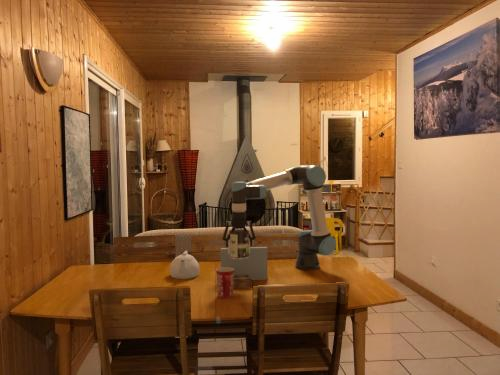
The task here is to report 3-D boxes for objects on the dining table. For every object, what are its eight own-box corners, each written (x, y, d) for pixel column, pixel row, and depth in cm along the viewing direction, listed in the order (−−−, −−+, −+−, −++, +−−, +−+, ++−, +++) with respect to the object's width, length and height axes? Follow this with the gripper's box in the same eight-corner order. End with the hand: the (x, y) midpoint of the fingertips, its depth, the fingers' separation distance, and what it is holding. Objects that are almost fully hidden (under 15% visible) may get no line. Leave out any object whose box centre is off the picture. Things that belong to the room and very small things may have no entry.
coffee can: (250, 255, 233) (250, 229, 232) (246, 259, 223) (246, 232, 222) (231, 254, 235) (231, 228, 234) (227, 259, 225) (227, 232, 224)
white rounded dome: (207, 275, 252) (207, 252, 251) (182, 282, 238) (181, 257, 237) (187, 269, 264) (186, 247, 263) (162, 275, 251) (161, 252, 250)
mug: (214, 293, 217) (214, 267, 216) (232, 292, 219) (232, 266, 218) (218, 302, 205) (217, 274, 204) (236, 300, 206) (236, 273, 206)
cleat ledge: (248, 280, 242) (248, 271, 241) (251, 287, 228) (251, 278, 227) (223, 281, 240) (222, 272, 239) (225, 288, 226) (225, 279, 225)
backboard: (266, 278, 245) (266, 246, 244) (267, 279, 243) (267, 247, 242) (220, 280, 241) (220, 248, 240) (221, 281, 239) (221, 249, 238)
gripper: (258, 209, 232) (258, 250, 234) (216, 210, 229) (217, 252, 231) (261, 211, 225) (261, 253, 227) (218, 212, 222) (218, 255, 223)
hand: (239, 252), depth 229 cm, fingers closed on coffee can, 10 cm apart
